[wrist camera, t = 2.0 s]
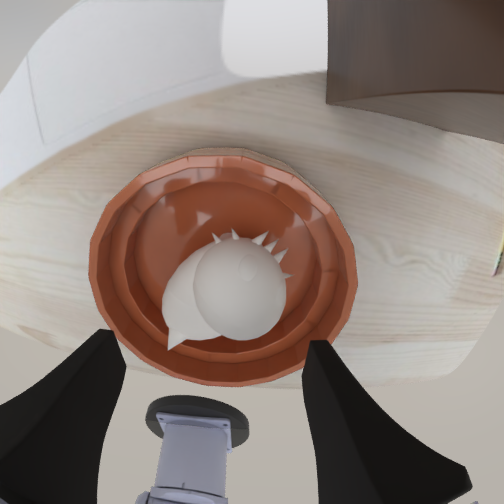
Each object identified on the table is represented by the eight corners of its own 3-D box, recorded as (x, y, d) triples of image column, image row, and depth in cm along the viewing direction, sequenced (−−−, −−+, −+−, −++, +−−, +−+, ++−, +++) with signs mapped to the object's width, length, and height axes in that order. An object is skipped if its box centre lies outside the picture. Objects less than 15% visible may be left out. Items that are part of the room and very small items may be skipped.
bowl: (317, 344, 19) (327, 385, 16) (137, 337, 19) (122, 376, 16) (350, 154, 14) (380, 167, 10) (105, 152, 13) (67, 165, 10)
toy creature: (304, 246, 15) (333, 321, 10) (209, 328, 18) (197, 410, 12) (241, 187, 14) (235, 238, 8) (151, 286, 16) (114, 363, 11)
